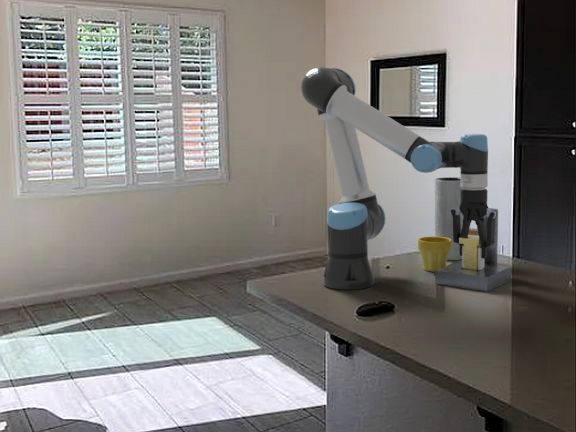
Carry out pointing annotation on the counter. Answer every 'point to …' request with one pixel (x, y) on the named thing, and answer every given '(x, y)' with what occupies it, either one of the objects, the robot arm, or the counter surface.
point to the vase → (447, 211)
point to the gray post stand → (476, 279)
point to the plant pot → (434, 252)
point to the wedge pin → (470, 251)
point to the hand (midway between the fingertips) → (473, 267)
